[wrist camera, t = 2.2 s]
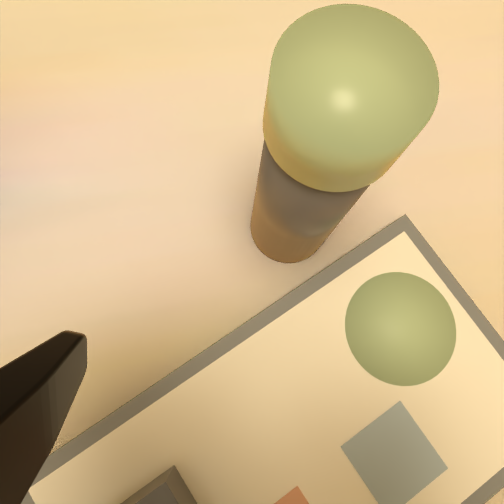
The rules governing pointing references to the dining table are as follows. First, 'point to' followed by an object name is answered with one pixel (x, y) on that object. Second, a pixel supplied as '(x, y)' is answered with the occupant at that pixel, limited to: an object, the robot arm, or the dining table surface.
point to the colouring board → (318, 399)
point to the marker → (335, 121)
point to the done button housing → (163, 490)
